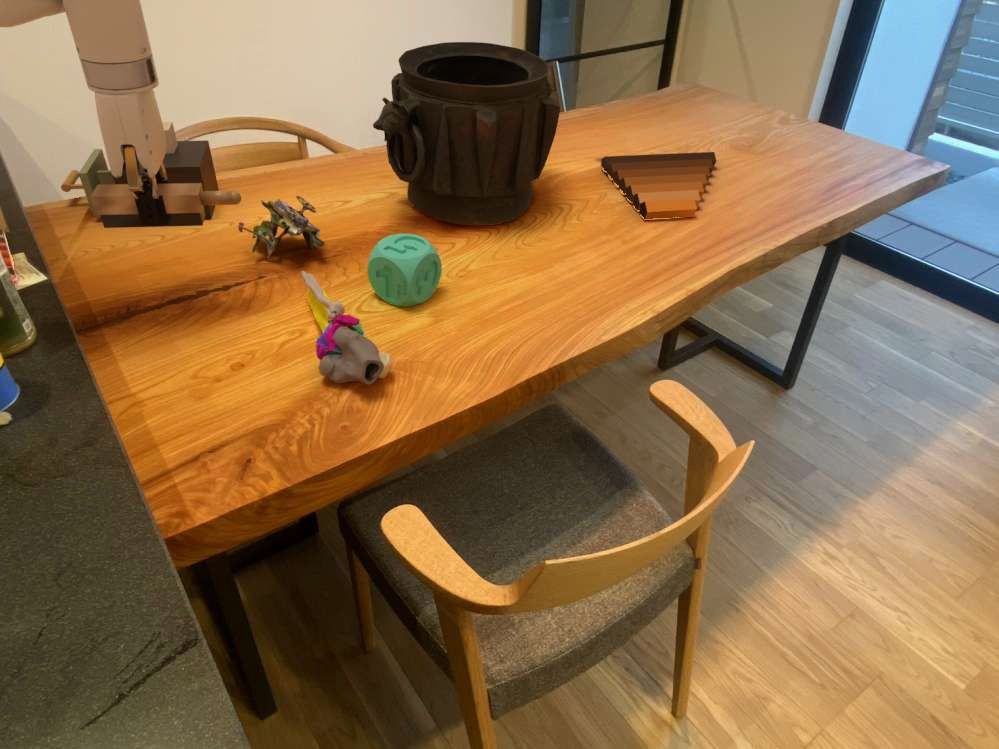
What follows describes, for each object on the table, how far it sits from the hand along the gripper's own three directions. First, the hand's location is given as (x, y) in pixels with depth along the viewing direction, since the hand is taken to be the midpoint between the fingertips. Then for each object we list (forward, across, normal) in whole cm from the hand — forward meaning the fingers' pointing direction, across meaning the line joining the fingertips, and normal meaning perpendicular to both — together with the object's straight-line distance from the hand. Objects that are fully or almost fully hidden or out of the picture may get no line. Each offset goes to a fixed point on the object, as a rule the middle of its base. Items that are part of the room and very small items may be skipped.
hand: (158, 216), depth 91 cm
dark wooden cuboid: (+14, -33, -6) cm, 36 cm away
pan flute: (+13, -32, +90) cm, 96 cm away
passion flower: (+14, -14, +14) cm, 24 cm away
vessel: (+14, -31, +47) cm, 58 cm away
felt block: (+5, -35, -6) cm, 36 cm away
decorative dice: (+14, 0, +32) cm, 35 cm away
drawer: (+14, -33, -14) cm, 38 cm away
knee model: (+14, +12, +22) cm, 29 cm away
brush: (+1, 0, +2) cm, 2 cm away
